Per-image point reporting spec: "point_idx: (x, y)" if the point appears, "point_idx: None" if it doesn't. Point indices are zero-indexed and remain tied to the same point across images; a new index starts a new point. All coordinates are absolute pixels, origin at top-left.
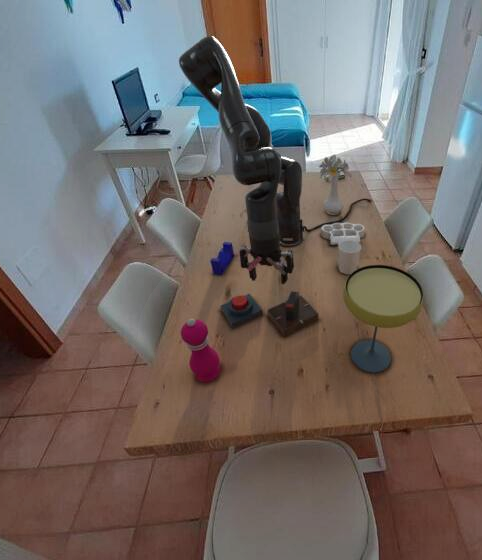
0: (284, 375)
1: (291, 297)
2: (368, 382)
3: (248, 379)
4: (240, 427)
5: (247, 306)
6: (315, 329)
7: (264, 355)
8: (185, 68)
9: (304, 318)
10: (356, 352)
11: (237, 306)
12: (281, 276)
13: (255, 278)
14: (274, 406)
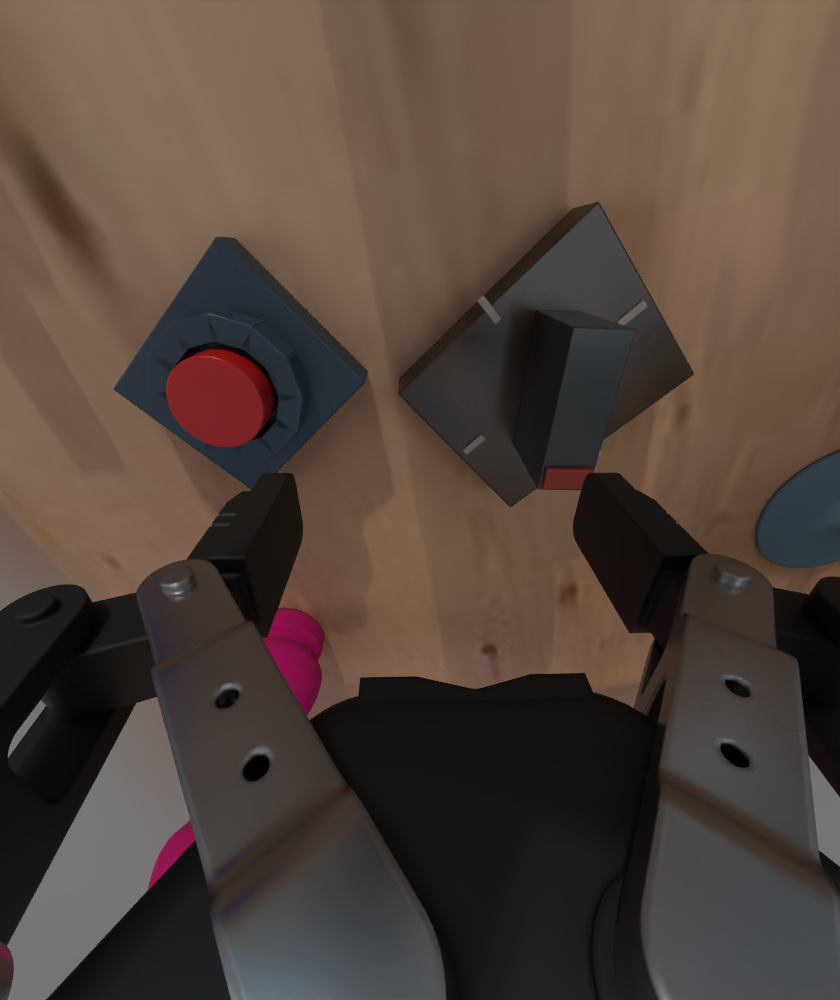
0: (518, 609)
1: (578, 400)
2: None
3: (415, 633)
4: None
5: (281, 412)
6: (640, 420)
7: (440, 563)
8: None
9: (611, 423)
10: (787, 515)
11: (231, 444)
12: (621, 611)
13: (297, 508)
14: (502, 673)
